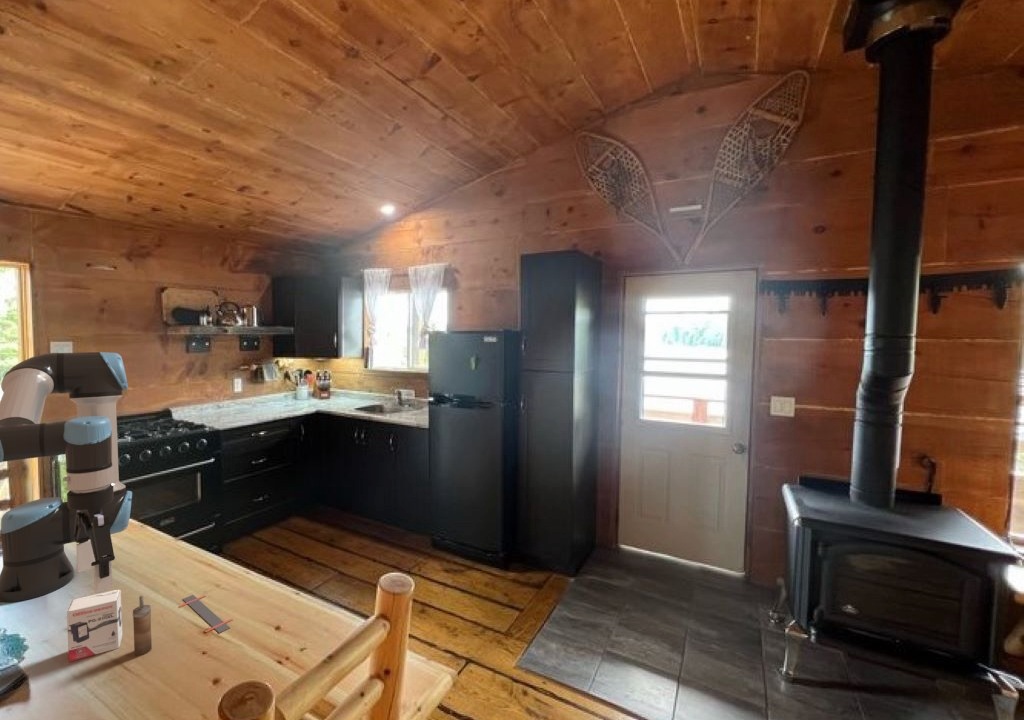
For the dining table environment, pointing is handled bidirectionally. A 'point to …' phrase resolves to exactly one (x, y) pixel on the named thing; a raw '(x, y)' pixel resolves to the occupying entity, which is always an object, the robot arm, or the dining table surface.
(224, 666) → the dining table surface
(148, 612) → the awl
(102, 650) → the ink box
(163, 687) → the dining table surface
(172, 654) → the dining table surface
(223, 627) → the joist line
